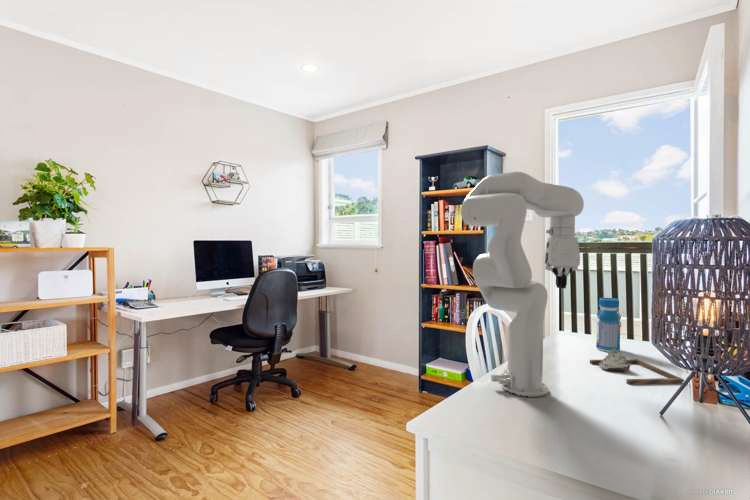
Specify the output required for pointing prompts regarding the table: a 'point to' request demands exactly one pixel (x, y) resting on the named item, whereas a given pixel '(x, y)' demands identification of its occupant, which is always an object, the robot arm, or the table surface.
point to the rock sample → (615, 362)
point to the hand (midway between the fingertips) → (561, 287)
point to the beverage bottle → (608, 325)
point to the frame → (670, 377)
